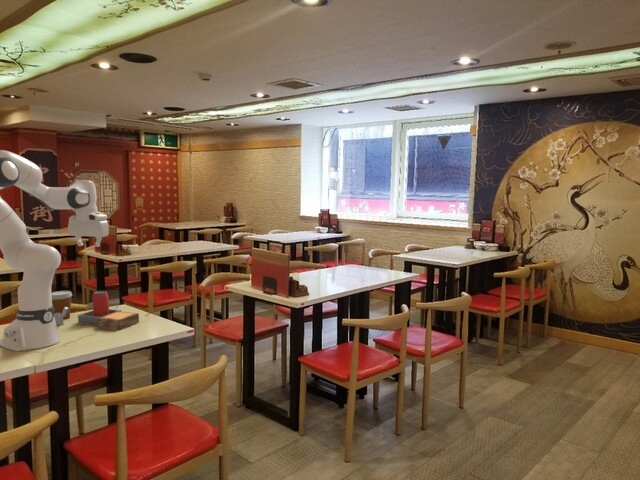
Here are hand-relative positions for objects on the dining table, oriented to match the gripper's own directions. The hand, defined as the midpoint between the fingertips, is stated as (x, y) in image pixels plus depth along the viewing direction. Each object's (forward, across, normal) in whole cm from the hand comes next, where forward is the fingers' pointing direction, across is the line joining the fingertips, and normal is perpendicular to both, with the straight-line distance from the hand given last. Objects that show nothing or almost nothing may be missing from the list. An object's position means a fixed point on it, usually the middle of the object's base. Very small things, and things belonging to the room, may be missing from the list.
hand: (89, 246), depth 218 cm
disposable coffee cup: (+33, -12, -6) cm, 36 cm away
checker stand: (+33, +20, -6) cm, 39 cm away
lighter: (+33, -4, -14) cm, 36 cm away
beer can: (+32, +7, -2) cm, 33 cm away
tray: (+33, +7, -3) cm, 34 cm away
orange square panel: (+30, +20, -6) cm, 37 cm away
